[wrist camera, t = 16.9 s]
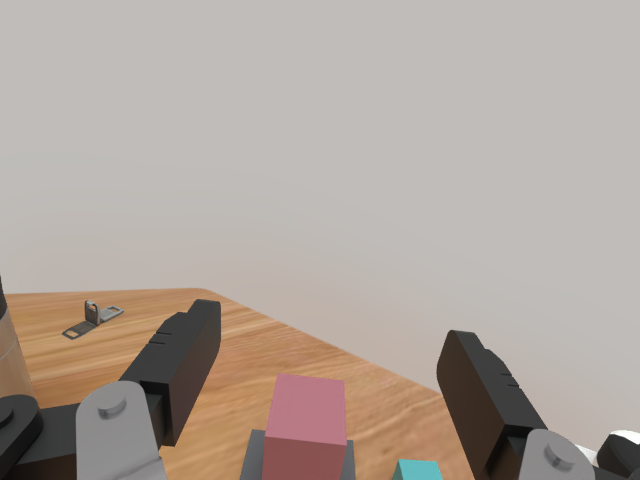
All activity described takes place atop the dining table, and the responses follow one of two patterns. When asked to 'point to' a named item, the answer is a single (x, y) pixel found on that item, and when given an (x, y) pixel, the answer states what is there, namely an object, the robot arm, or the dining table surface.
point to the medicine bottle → (617, 453)
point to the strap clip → (93, 319)
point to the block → (416, 470)
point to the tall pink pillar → (305, 429)
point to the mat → (255, 451)
